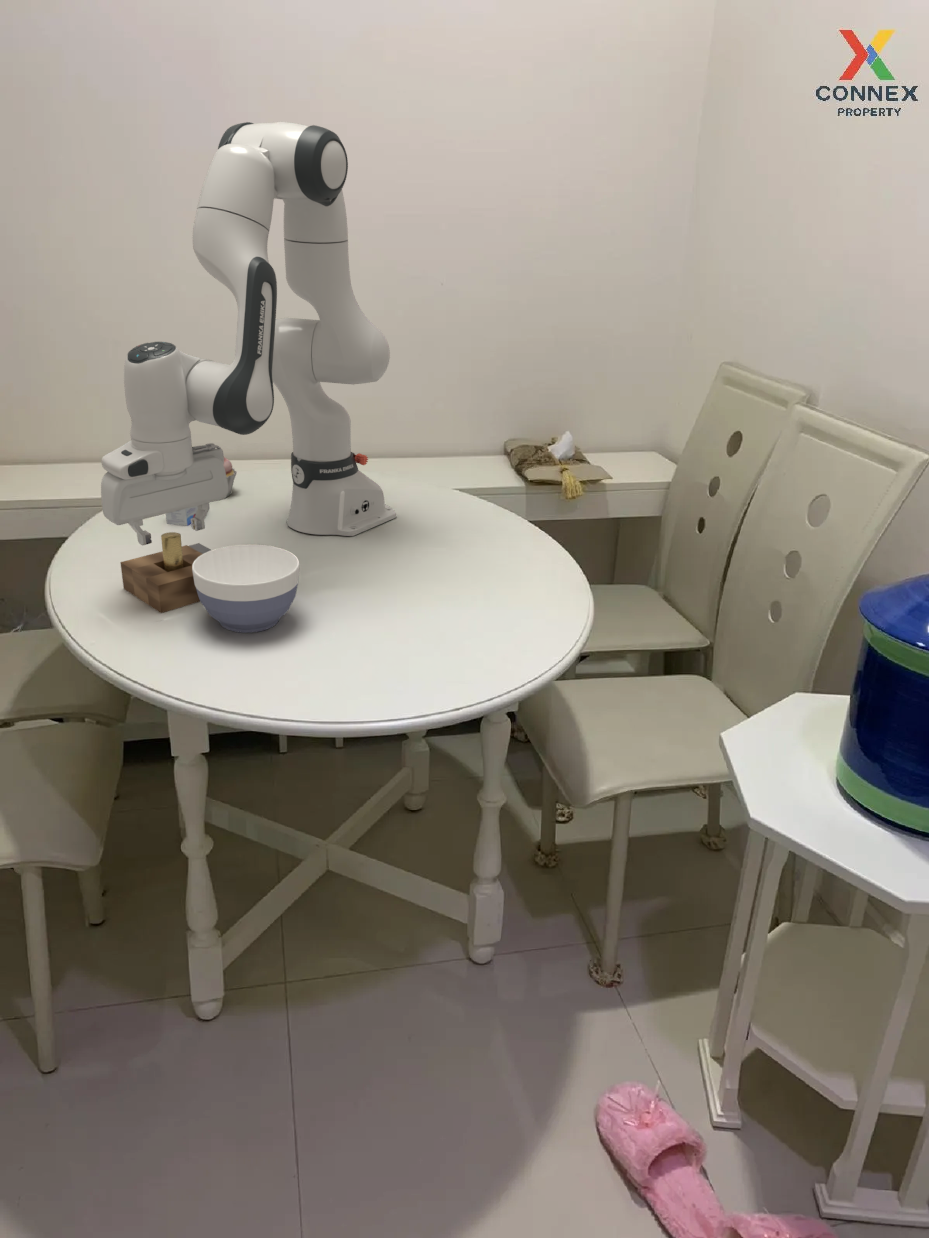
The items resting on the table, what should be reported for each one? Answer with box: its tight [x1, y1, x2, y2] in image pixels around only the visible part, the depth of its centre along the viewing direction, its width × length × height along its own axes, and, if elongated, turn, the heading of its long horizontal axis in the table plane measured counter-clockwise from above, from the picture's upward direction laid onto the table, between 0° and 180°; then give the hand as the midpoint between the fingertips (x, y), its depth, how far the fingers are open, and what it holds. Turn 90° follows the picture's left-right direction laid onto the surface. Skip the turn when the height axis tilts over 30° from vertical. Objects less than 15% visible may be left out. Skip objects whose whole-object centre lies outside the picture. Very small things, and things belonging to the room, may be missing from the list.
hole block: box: [120, 544, 202, 614], centre depth 151 cm, size 12×12×5 cm
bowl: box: [192, 543, 300, 634], centre depth 142 cm, size 16×16×10 cm
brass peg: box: [160, 531, 184, 572], centre depth 150 cm, size 3×3×10 cm
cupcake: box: [223, 456, 238, 497], centre depth 195 cm, size 9×9×10 cm
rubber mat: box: [188, 542, 212, 554], centre depth 165 cm, size 10×8×1 cm
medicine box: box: [165, 506, 198, 527], centre depth 180 cm, size 8×4×9 cm, turn 168°
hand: (172, 536), depth 149 cm, fingers open, 8 cm apart
